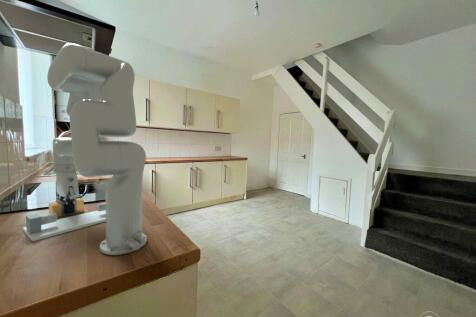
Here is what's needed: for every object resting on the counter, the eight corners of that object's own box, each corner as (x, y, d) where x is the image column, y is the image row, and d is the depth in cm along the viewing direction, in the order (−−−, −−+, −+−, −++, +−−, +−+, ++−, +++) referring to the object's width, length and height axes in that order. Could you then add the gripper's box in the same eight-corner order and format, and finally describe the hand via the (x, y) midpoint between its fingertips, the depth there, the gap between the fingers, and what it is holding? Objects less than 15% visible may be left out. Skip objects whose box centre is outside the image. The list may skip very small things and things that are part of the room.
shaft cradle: (124, 216, 83) (124, 202, 83) (32, 241, 61) (31, 222, 60) (110, 209, 90) (110, 196, 89) (23, 230, 67) (22, 212, 67)
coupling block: (83, 211, 86) (83, 198, 86) (53, 218, 78) (52, 203, 77) (79, 209, 89) (79, 195, 88) (49, 215, 80) (48, 200, 80)
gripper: (85, 169, 80) (86, 214, 82) (69, 165, 90) (70, 205, 91) (61, 171, 74) (62, 219, 75) (47, 166, 83) (48, 209, 85)
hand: (67, 211), depth 83 cm, fingers closed on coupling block, 5 cm apart
